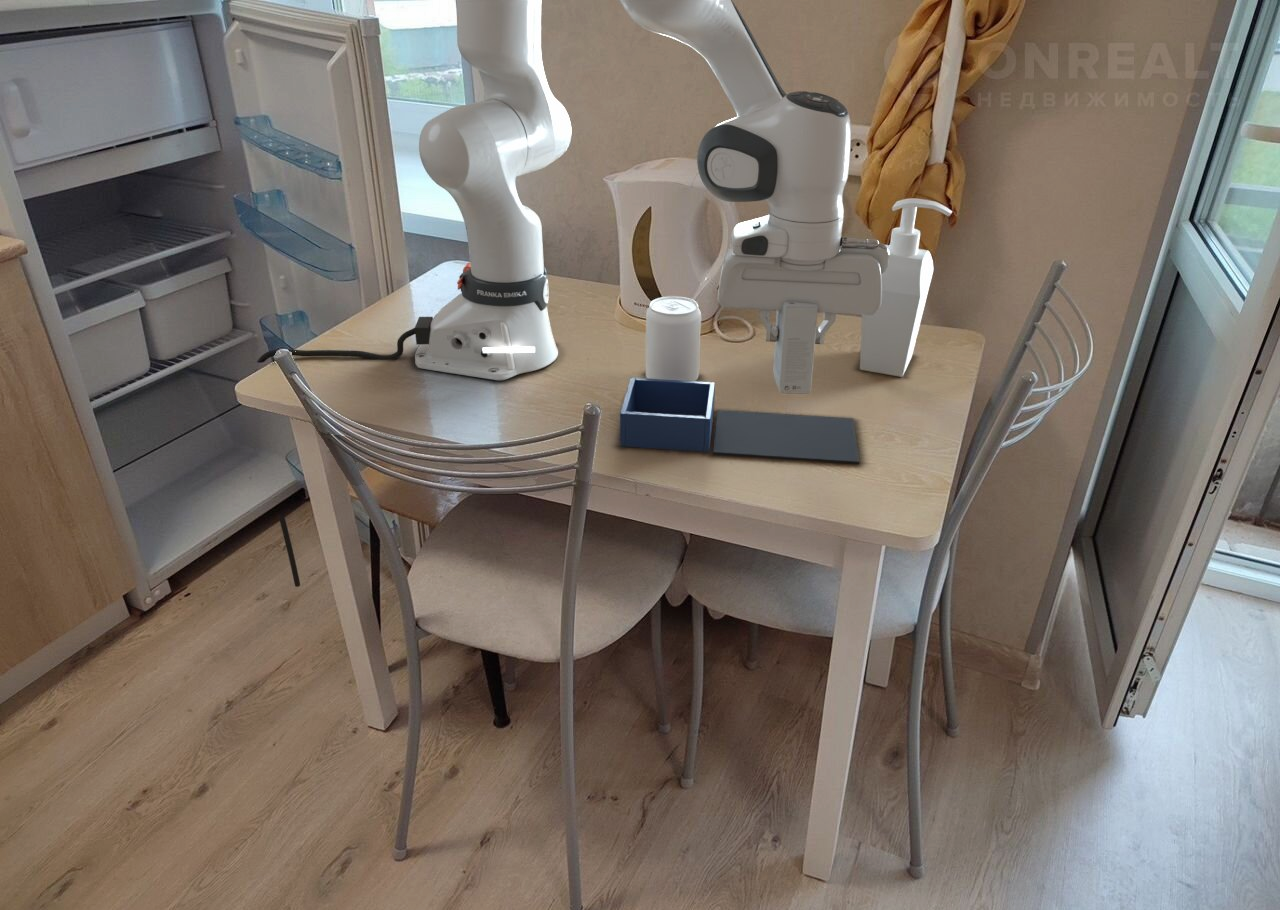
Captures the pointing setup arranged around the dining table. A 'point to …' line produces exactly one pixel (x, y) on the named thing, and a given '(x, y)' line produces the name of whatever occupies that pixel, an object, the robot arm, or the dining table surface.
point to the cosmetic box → (795, 347)
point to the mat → (785, 437)
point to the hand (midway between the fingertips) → (794, 341)
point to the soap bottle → (899, 296)
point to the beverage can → (673, 339)
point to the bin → (667, 427)
